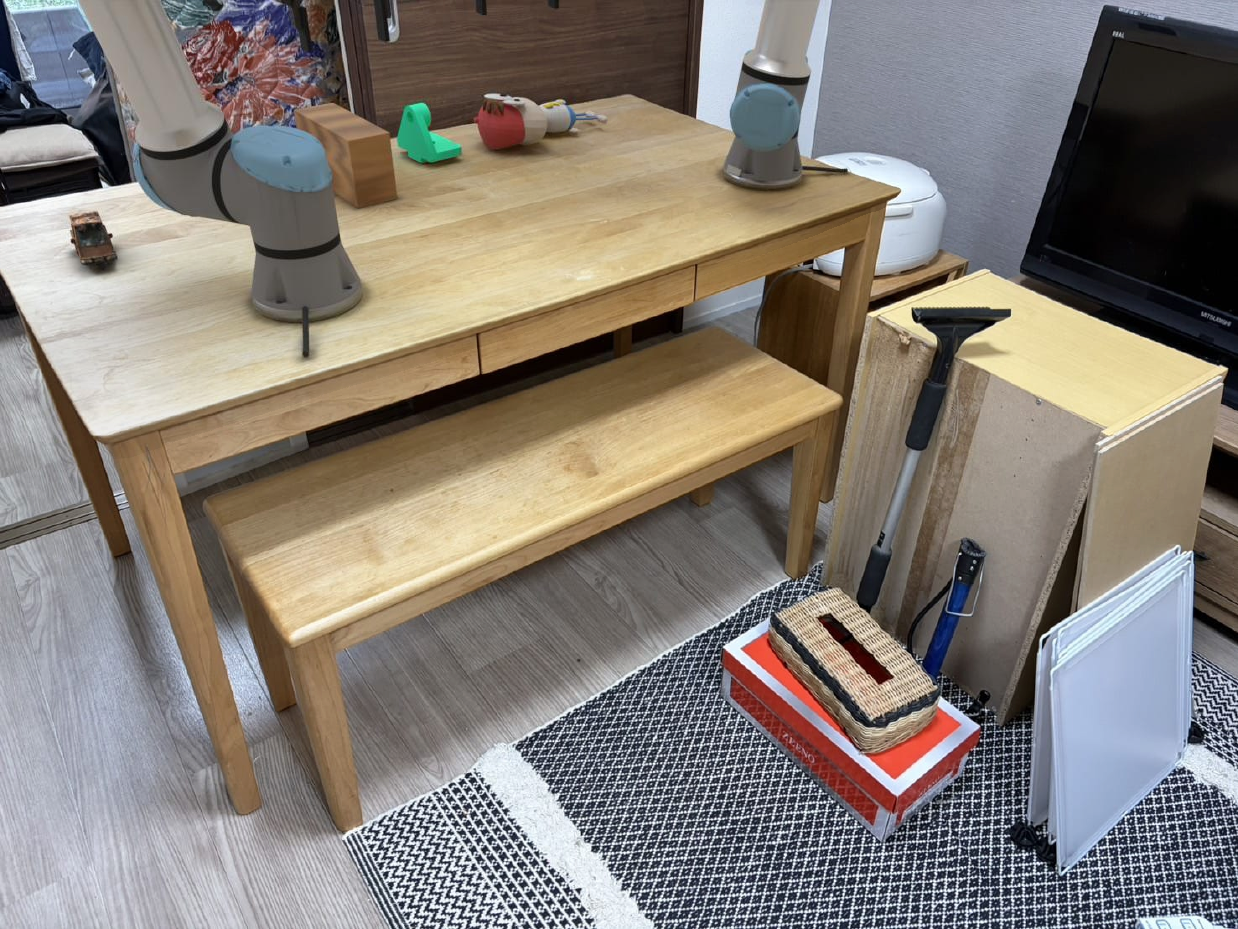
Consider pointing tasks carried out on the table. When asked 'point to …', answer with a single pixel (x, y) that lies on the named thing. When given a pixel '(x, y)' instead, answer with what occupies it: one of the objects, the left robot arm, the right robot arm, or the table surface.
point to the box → (352, 153)
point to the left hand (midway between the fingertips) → (346, 45)
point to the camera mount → (423, 137)
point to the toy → (524, 120)
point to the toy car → (91, 239)
